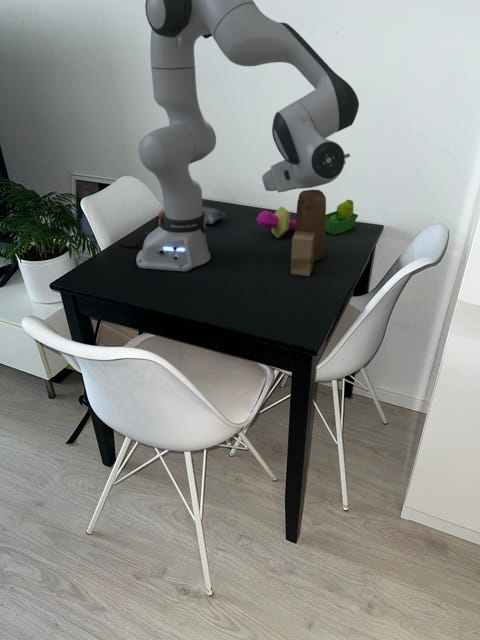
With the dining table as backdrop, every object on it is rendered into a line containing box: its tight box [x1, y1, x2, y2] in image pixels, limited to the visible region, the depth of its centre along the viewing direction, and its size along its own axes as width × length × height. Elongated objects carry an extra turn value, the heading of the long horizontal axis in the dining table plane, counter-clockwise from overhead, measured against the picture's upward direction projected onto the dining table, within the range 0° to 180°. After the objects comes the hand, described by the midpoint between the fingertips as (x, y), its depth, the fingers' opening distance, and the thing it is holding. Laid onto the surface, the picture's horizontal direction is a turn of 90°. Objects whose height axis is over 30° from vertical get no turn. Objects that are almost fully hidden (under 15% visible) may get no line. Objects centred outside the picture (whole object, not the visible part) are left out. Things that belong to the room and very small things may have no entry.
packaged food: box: [203, 206, 226, 225], centre depth 179 cm, size 9×12×5 cm
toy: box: [256, 206, 296, 239], centre depth 168 cm, size 10×18×10 cm, turn 108°
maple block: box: [290, 230, 315, 277], centre depth 144 cm, size 6×6×11 cm
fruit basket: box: [325, 199, 359, 236], centre depth 169 cm, size 11×9×11 cm
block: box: [295, 189, 327, 263], centre depth 150 cm, size 11×8×20 cm
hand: (297, 173), depth 130 cm, fingers open, 8 cm apart
